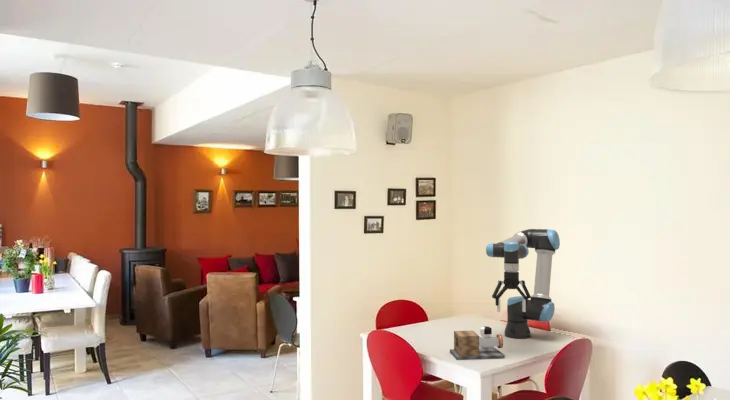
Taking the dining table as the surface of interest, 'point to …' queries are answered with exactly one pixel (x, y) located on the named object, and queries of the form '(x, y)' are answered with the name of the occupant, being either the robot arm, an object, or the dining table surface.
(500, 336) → the shaft
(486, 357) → the bearing block
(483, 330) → the medicine bottle
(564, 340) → the dining table surface
